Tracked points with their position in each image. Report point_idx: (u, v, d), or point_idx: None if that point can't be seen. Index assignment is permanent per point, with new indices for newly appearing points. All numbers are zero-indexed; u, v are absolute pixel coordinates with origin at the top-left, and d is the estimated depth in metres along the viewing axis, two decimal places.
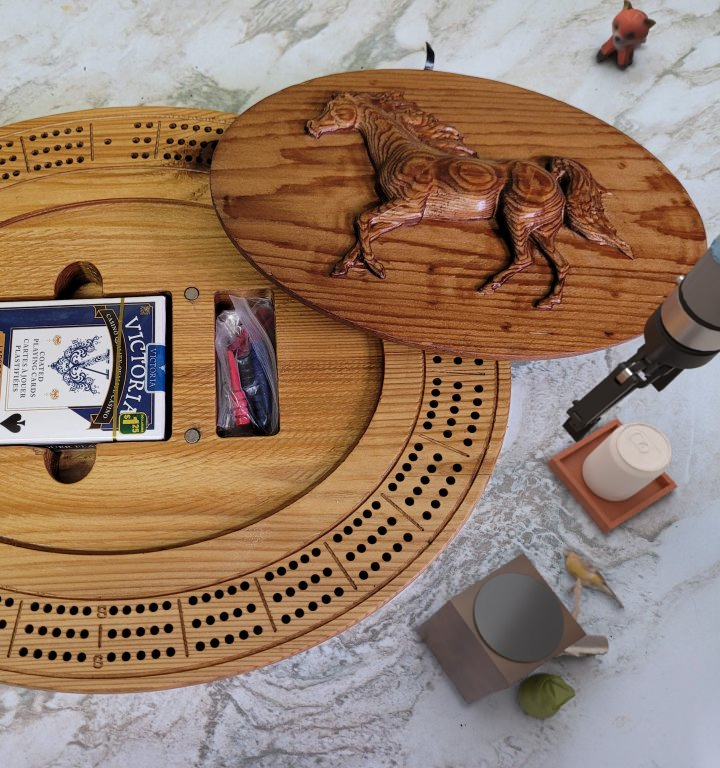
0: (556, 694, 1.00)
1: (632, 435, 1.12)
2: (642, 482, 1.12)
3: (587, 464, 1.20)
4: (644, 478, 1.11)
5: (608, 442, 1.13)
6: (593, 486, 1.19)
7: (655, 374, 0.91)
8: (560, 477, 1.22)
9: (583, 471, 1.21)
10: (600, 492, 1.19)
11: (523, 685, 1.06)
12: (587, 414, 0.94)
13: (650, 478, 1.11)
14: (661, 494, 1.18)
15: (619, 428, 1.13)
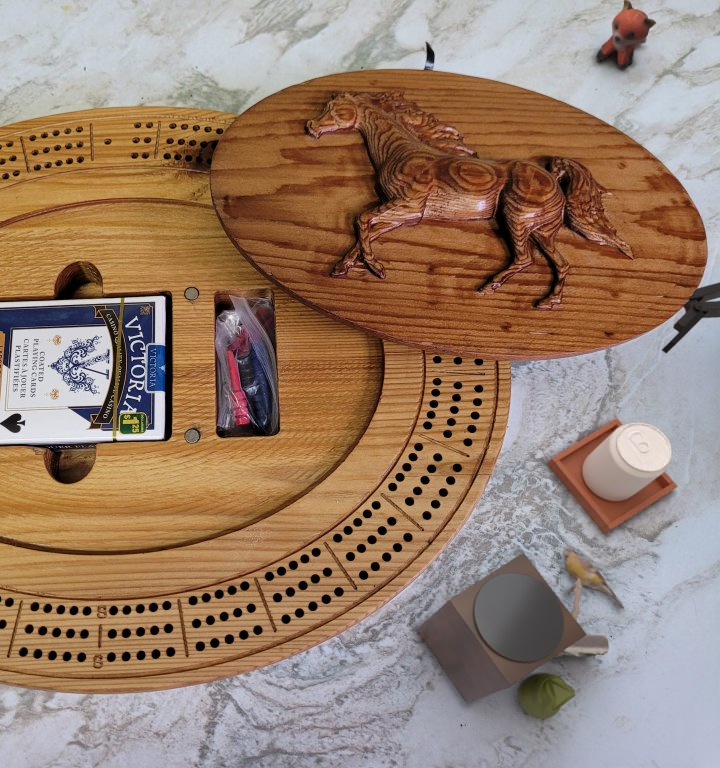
0: (557, 694, 1.00)
1: (632, 435, 1.12)
2: (642, 482, 1.12)
3: (587, 464, 1.20)
4: (645, 478, 1.11)
5: (608, 442, 1.13)
6: (593, 486, 1.19)
7: None
8: (560, 477, 1.22)
9: (583, 471, 1.21)
10: (600, 492, 1.19)
11: (523, 685, 1.06)
12: None
13: (650, 478, 1.11)
14: (661, 494, 1.18)
15: (619, 428, 1.13)
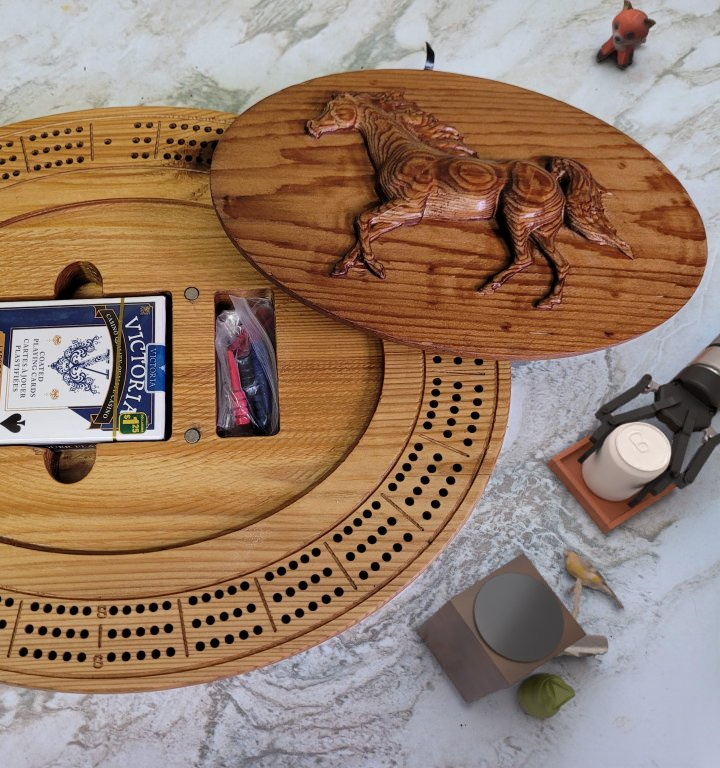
0: (556, 694, 1.00)
1: (631, 435, 1.12)
2: (641, 482, 1.12)
3: (587, 463, 1.20)
4: (644, 477, 1.11)
5: (607, 442, 1.13)
6: (592, 486, 1.19)
7: None
8: (560, 477, 1.22)
9: (583, 471, 1.21)
10: (600, 492, 1.19)
11: (523, 685, 1.06)
12: None
13: (649, 478, 1.11)
14: (661, 494, 1.18)
15: (618, 428, 1.13)
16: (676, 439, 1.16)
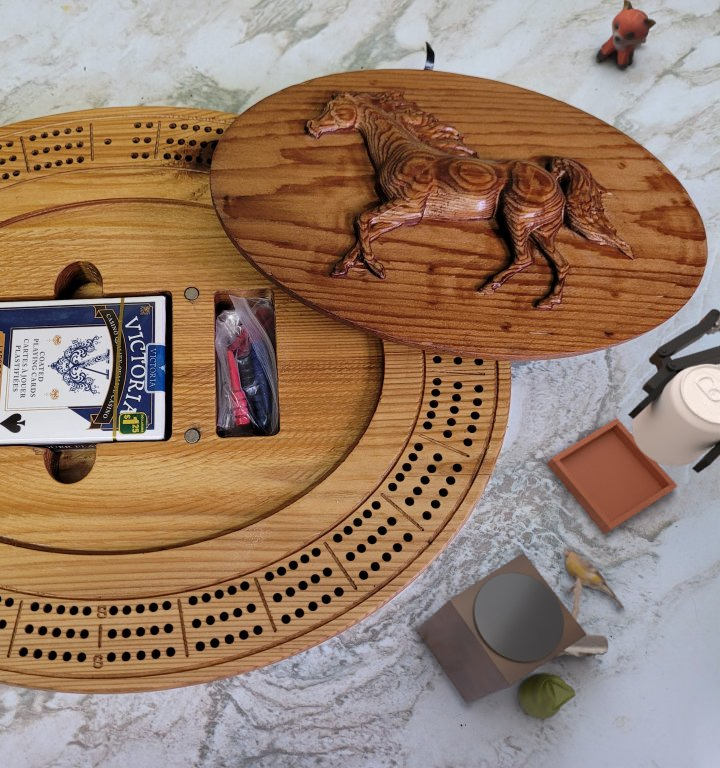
0: (557, 694, 1.00)
1: (700, 380, 0.89)
2: (712, 439, 0.89)
3: (639, 420, 0.97)
4: (717, 433, 0.87)
5: (669, 389, 0.90)
6: (646, 448, 0.96)
7: None
8: (560, 477, 1.22)
9: (633, 429, 0.98)
10: (655, 454, 0.96)
11: (523, 685, 1.06)
12: None
13: None
14: (661, 494, 1.18)
15: (683, 372, 0.90)
16: None
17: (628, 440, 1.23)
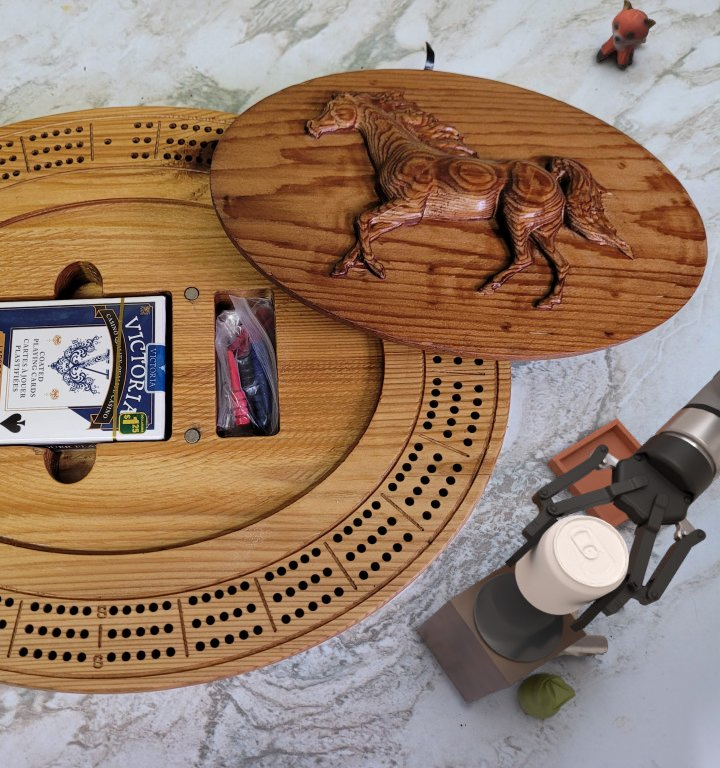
0: (557, 694, 1.00)
1: (576, 534, 0.82)
2: (589, 598, 0.82)
3: (521, 564, 0.90)
4: (591, 595, 0.80)
5: (543, 542, 0.83)
6: (527, 595, 0.89)
7: (626, 480, 0.87)
8: None
9: (516, 572, 0.91)
10: (537, 603, 0.88)
11: (523, 685, 1.06)
12: None
13: (599, 595, 0.81)
14: None
15: (559, 523, 0.83)
16: (639, 535, 0.86)
17: (628, 440, 1.23)
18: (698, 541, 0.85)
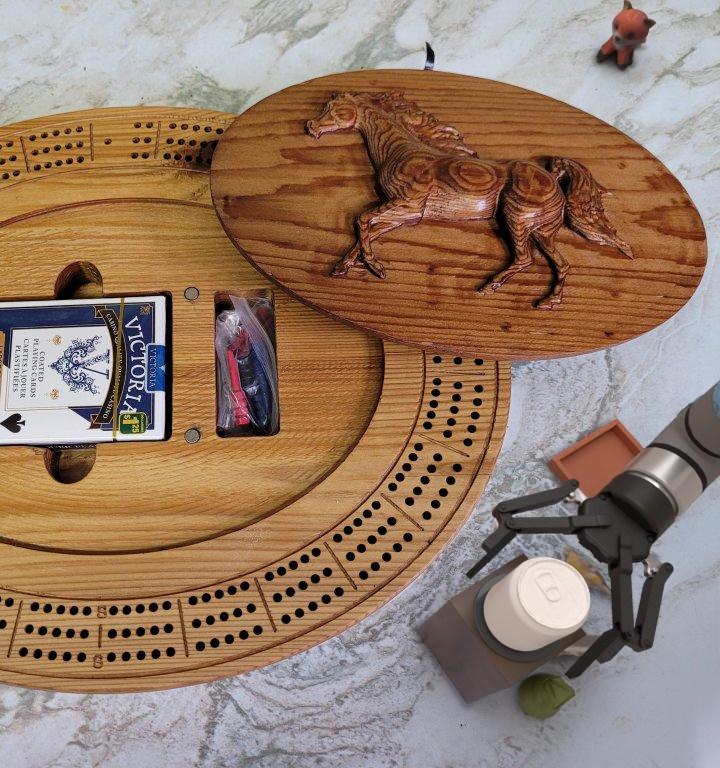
0: (556, 694, 1.00)
1: (539, 576, 0.84)
2: (552, 639, 0.84)
3: (488, 601, 0.92)
4: (554, 636, 0.83)
5: (508, 583, 0.85)
6: (495, 632, 0.91)
7: None
8: (560, 477, 1.22)
9: (484, 609, 0.93)
10: (504, 640, 0.91)
11: (523, 685, 1.06)
12: None
13: (561, 636, 0.83)
14: None
15: (523, 565, 0.85)
16: (615, 579, 0.88)
17: (628, 440, 1.23)
18: (668, 575, 0.87)
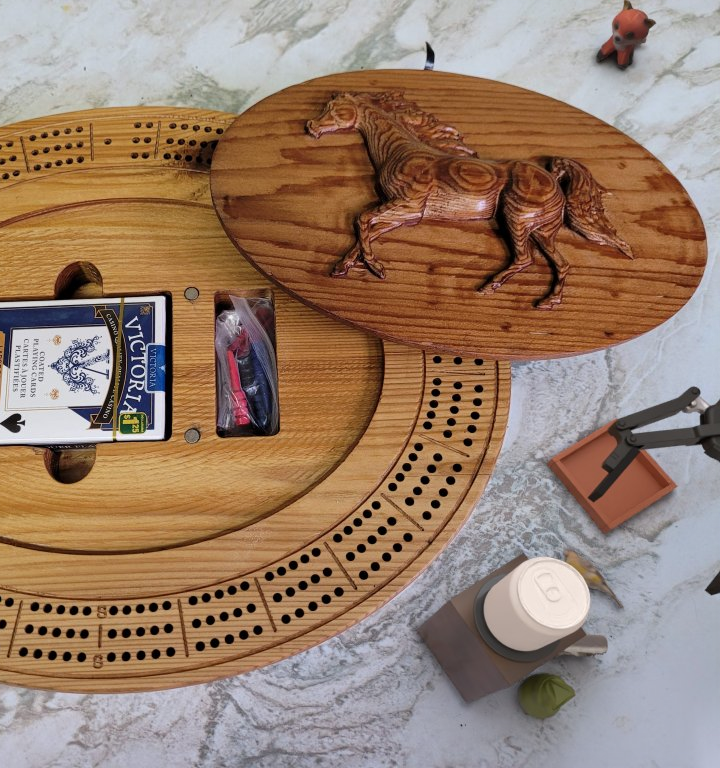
0: (557, 694, 1.00)
1: (539, 576, 0.84)
2: (552, 639, 0.84)
3: (488, 601, 0.92)
4: (554, 636, 0.83)
5: (508, 583, 0.85)
6: (495, 632, 0.91)
7: None
8: (560, 477, 1.22)
9: (484, 609, 0.93)
10: (504, 640, 0.91)
11: (523, 685, 1.06)
12: None
13: (561, 636, 0.83)
14: (661, 494, 1.18)
15: (523, 565, 0.85)
16: None
17: None
18: None
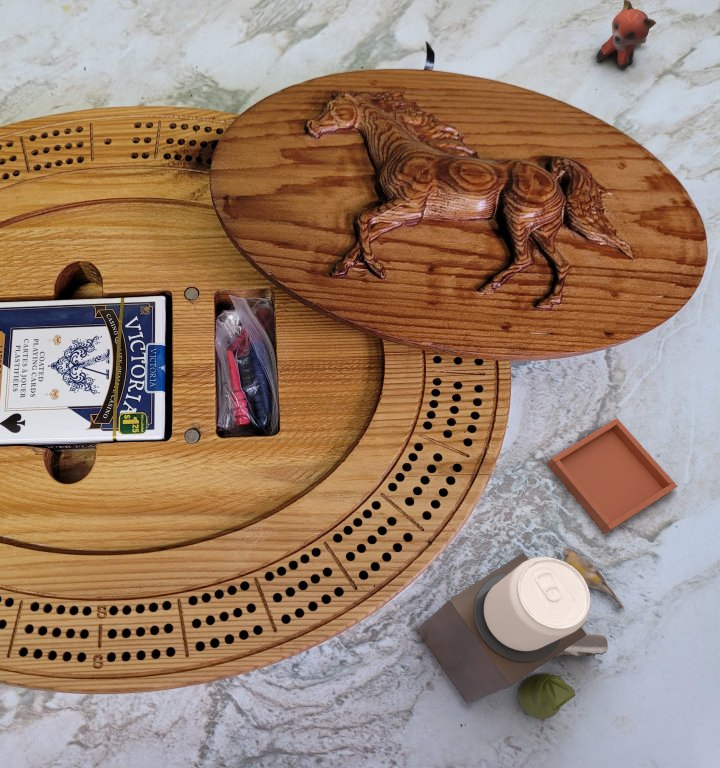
0: (557, 694, 1.00)
1: (539, 576, 0.84)
2: (552, 639, 0.84)
3: (488, 601, 0.92)
4: (554, 636, 0.83)
5: (508, 583, 0.85)
6: (495, 632, 0.91)
7: None
8: (560, 477, 1.22)
9: (484, 609, 0.93)
10: (504, 640, 0.91)
11: (523, 685, 1.06)
12: None
13: (561, 636, 0.83)
14: (661, 494, 1.18)
15: (523, 565, 0.85)
16: None
17: (628, 440, 1.23)
18: None
